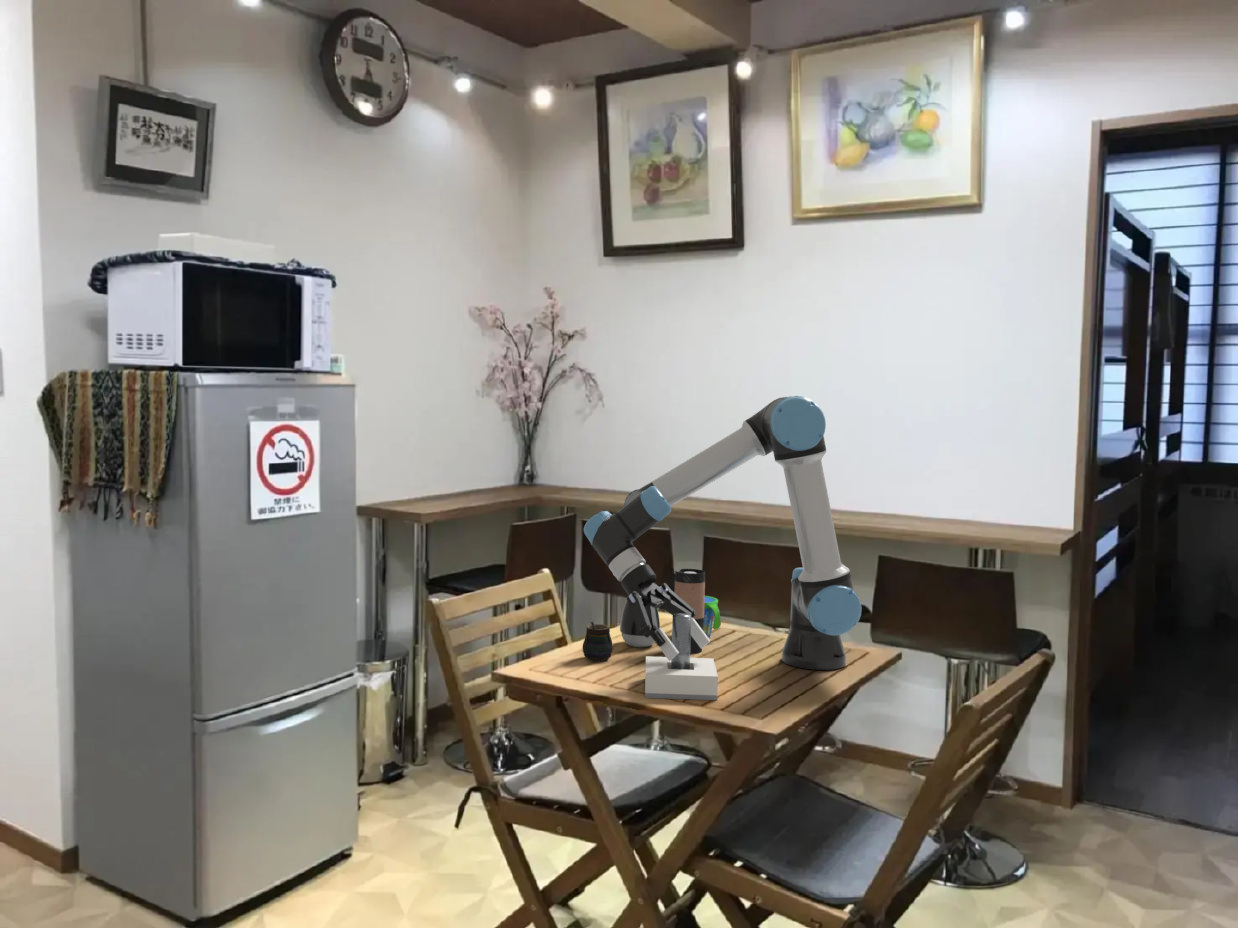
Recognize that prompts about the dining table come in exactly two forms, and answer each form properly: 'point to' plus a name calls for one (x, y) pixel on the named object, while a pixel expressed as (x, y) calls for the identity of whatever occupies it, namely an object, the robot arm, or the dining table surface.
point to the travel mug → (692, 596)
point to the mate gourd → (597, 642)
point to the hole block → (681, 679)
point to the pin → (681, 640)
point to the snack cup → (711, 615)
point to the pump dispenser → (634, 628)
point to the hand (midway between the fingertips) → (690, 650)
